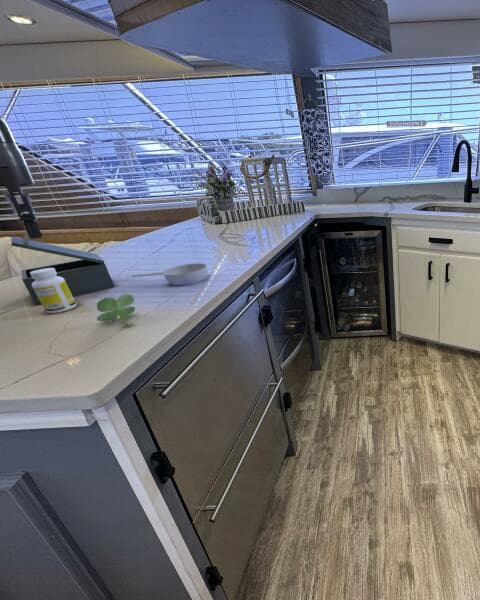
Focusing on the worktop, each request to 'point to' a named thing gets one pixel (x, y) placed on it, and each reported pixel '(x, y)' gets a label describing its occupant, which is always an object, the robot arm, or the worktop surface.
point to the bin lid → (54, 249)
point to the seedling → (115, 308)
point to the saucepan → (182, 274)
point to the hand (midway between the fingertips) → (35, 236)
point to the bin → (74, 277)
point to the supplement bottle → (52, 291)
